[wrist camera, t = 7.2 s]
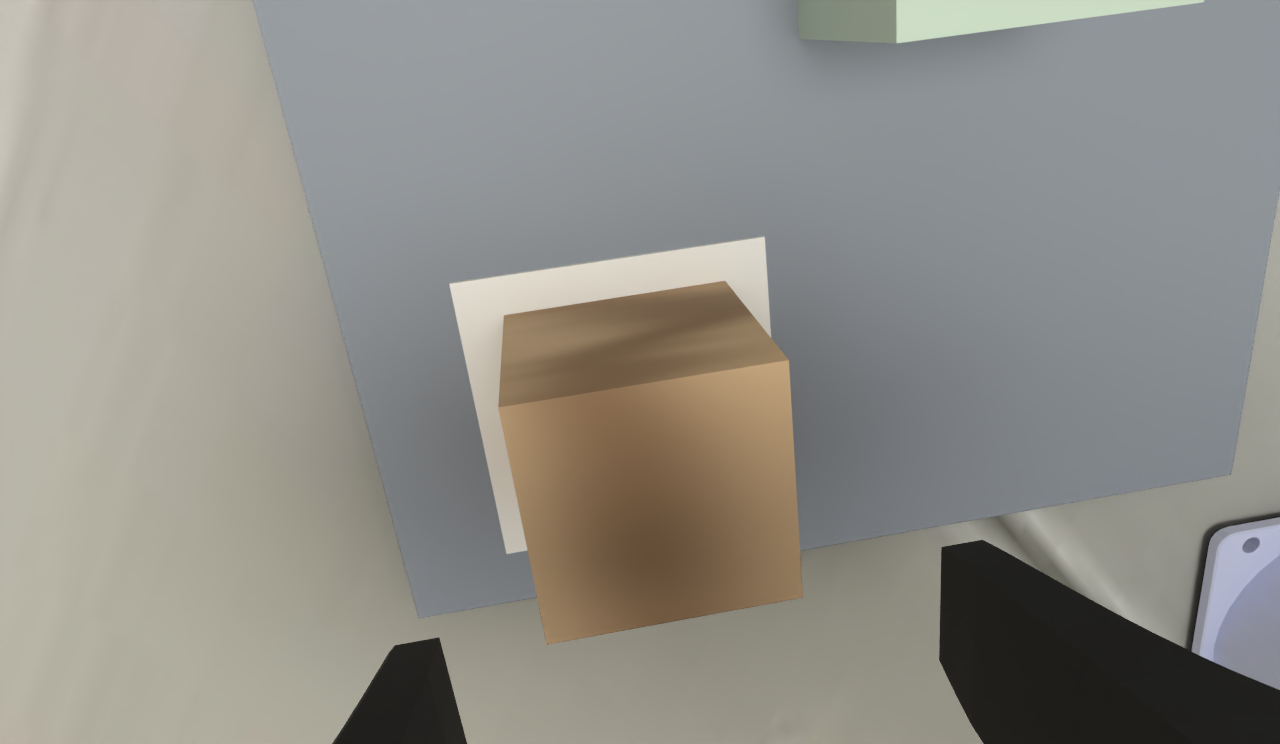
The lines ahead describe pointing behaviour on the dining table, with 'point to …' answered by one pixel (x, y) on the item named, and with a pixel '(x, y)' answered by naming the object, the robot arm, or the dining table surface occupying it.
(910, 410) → the grey mat
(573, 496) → the oak block
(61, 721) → the dining table surface
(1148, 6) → the green block
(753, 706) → the dining table surface
